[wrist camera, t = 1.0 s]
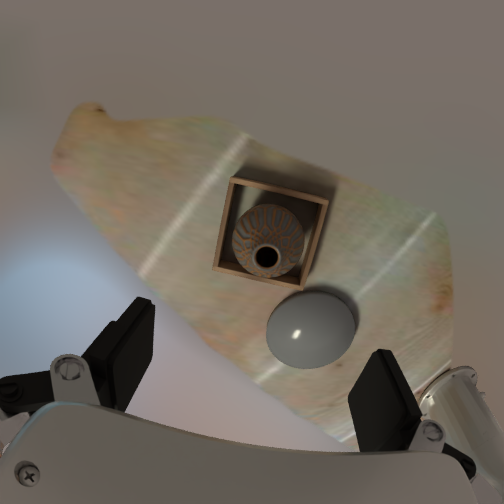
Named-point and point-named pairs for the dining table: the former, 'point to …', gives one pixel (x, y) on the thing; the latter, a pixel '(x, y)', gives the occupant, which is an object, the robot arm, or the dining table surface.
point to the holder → (319, 219)
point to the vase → (268, 240)
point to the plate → (310, 329)
